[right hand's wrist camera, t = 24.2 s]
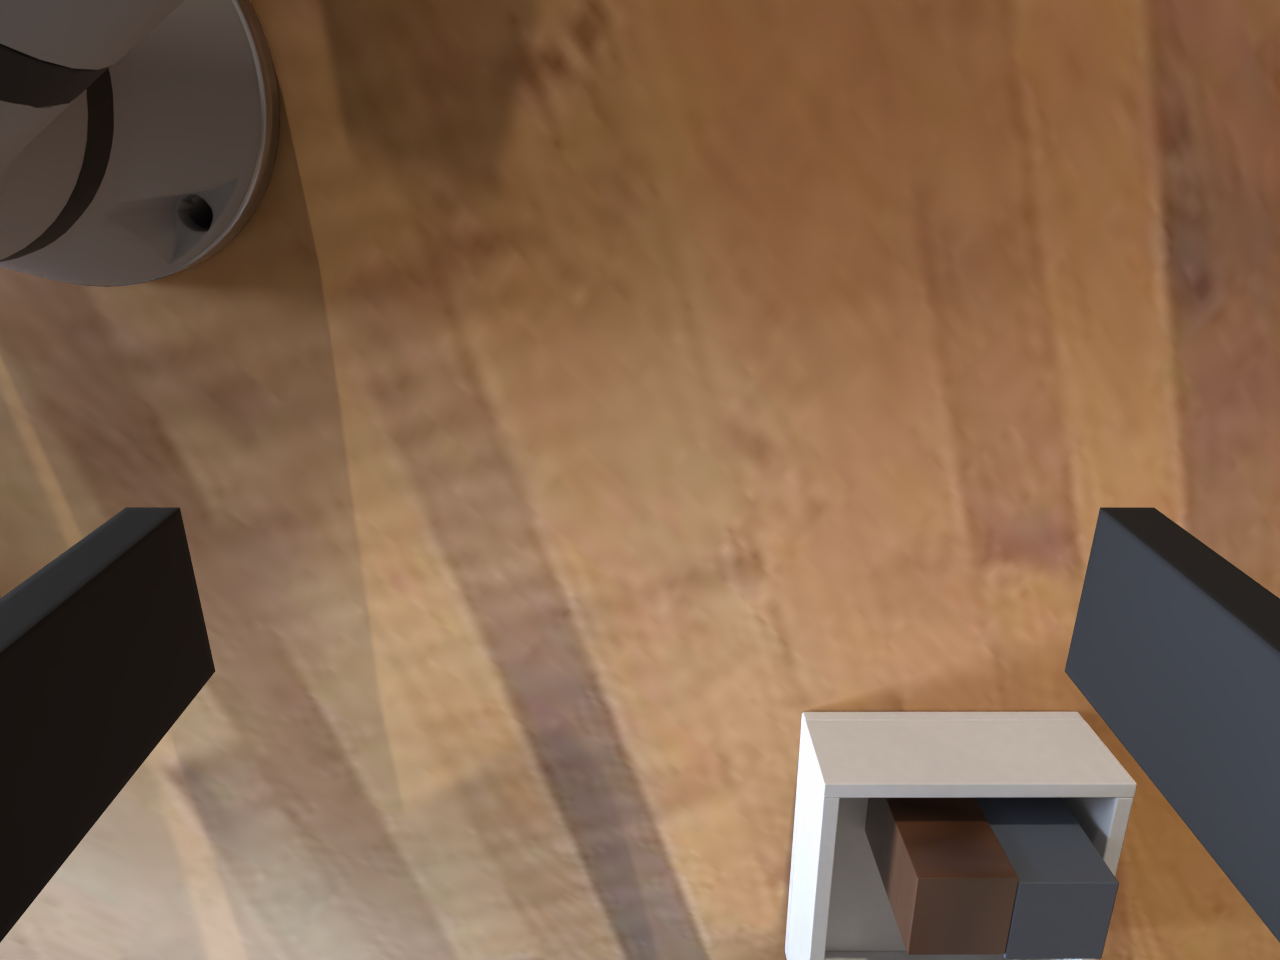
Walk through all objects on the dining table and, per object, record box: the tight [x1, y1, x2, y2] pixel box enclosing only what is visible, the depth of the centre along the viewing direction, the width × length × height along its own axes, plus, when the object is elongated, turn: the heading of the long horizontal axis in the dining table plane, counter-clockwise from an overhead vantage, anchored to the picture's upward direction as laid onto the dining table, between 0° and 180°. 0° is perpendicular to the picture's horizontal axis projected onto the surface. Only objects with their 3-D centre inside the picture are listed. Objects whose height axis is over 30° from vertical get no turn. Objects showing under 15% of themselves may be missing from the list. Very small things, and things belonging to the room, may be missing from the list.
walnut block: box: [865, 797, 1019, 955], centre depth 43 cm, size 4×4×8 cm
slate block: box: [975, 797, 1119, 959], centre depth 43 cm, size 4×4×8 cm
